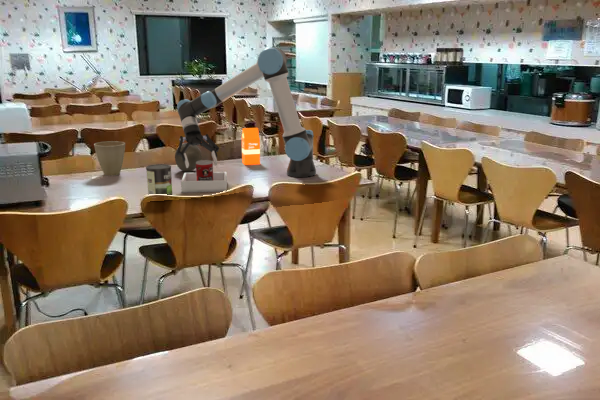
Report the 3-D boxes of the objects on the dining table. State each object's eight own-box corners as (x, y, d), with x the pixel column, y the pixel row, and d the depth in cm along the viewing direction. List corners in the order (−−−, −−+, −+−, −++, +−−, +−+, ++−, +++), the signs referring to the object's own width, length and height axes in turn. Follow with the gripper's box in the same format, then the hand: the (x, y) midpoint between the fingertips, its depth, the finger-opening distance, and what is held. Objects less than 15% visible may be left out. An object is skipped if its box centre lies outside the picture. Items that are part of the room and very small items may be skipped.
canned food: (197, 187, 244) (196, 163, 241) (196, 183, 251) (195, 160, 248) (214, 186, 246) (213, 163, 243) (212, 182, 253) (211, 159, 250)
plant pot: (115, 178, 264) (112, 146, 260) (90, 176, 268) (87, 145, 264) (133, 172, 277) (131, 142, 273) (109, 170, 282) (107, 140, 278)
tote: (227, 181, 259) (226, 171, 257) (226, 191, 241) (226, 180, 240) (185, 182, 256) (184, 172, 255) (181, 192, 239) (180, 181, 238)
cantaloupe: (170, 173, 275) (168, 144, 271) (182, 168, 288) (181, 140, 284) (195, 175, 272) (194, 146, 268) (207, 169, 285) (205, 141, 281)
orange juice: (242, 162, 304) (241, 127, 298) (257, 161, 306) (256, 126, 301) (244, 165, 296) (243, 129, 291) (260, 164, 299) (259, 128, 293)
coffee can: (176, 196, 233) (175, 164, 230) (166, 202, 224) (164, 169, 220) (155, 194, 235) (152, 163, 232) (143, 201, 226) (141, 168, 222)
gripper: (214, 131, 265) (225, 166, 256) (164, 135, 254) (174, 172, 245) (217, 122, 259) (229, 157, 250) (166, 125, 248) (176, 162, 239)
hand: (202, 165), depth 247 cm, fingers open, 13 cm apart
